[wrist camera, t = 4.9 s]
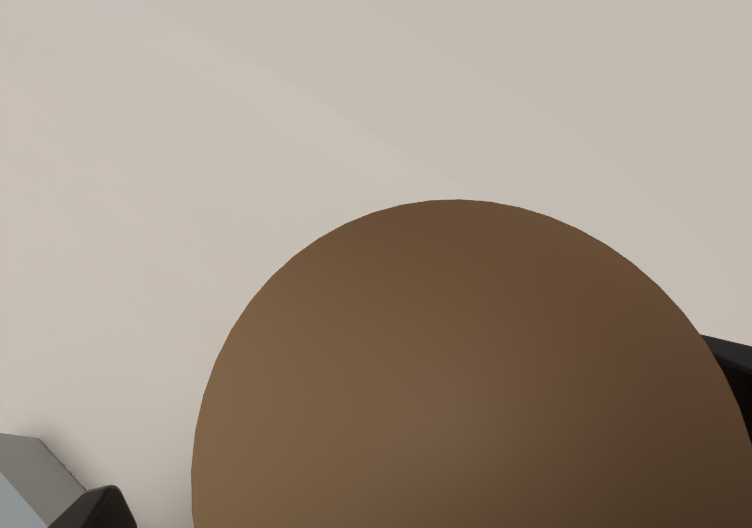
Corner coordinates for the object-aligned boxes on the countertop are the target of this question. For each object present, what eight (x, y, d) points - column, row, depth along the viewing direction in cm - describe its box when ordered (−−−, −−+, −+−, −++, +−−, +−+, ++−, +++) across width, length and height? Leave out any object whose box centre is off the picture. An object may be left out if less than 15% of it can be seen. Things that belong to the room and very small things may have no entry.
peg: (412, 588, 13) (577, 1042, 2) (302, 486, 14) (69, 483, 3) (495, 463, 15) (846, 397, 4) (388, 377, 16) (417, 125, 5)
